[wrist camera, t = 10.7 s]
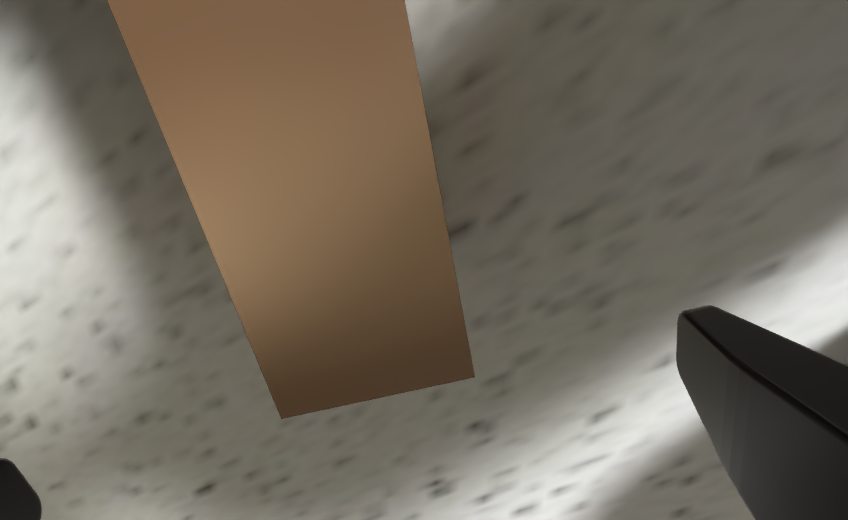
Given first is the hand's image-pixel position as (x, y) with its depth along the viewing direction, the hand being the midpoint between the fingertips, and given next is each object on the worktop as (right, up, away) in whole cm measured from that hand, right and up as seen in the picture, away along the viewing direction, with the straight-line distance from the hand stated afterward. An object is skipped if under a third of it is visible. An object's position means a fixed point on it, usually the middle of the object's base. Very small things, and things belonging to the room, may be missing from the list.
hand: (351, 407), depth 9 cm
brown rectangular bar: (-1, +7, +3) cm, 8 cm away
